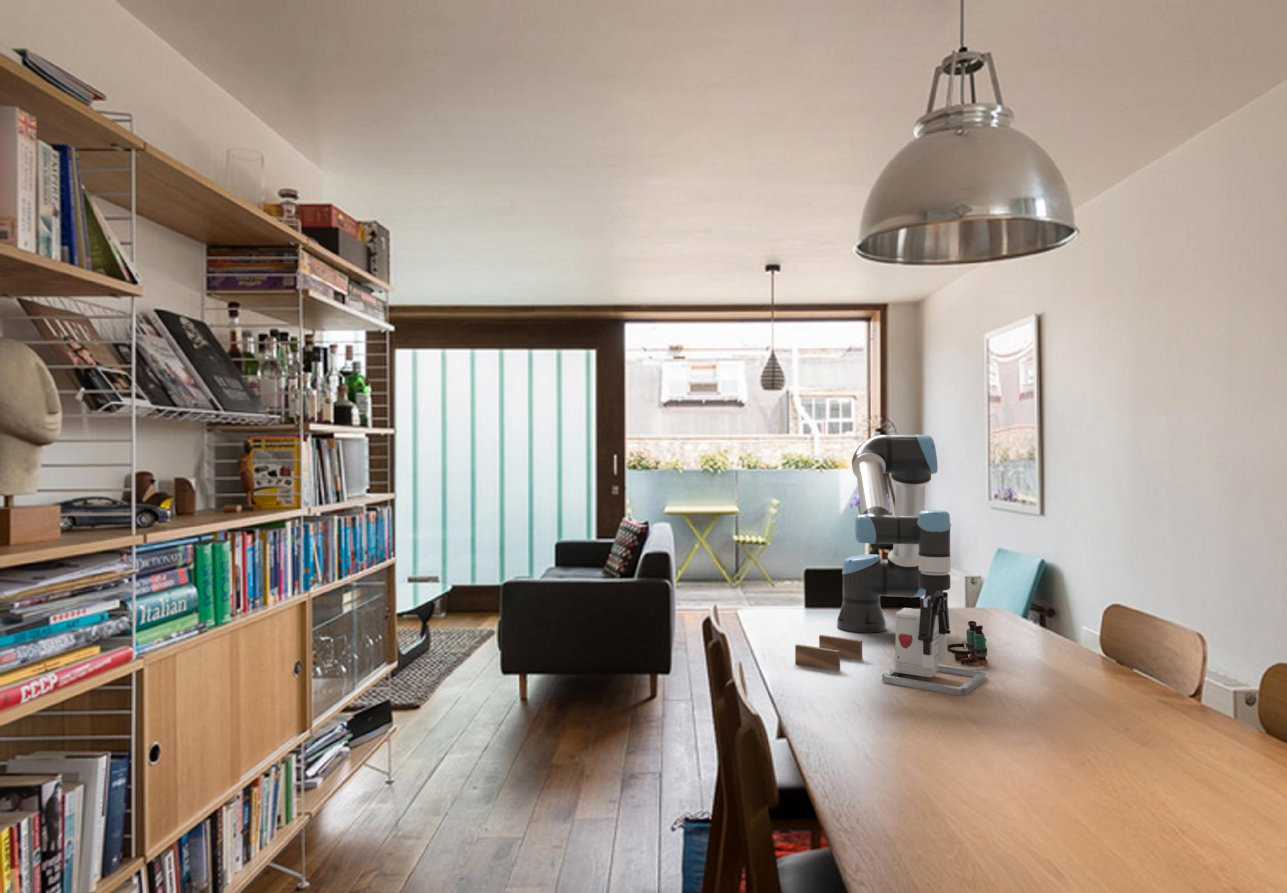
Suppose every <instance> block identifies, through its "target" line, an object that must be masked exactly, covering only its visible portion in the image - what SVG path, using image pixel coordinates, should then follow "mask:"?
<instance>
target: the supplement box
mask: <svg viewBox="0 0 1287 893" xmlns="http://www.w3.org/2000/svg"><path fill="white" fill-rule="evenodd" d="M920 610H921V608H910V607H903V608H901V609H900V610H898V611H896V613H895V641H894V642H895V647H894V648H895V649H894V650H895V653H894V654H895V655H894V663H895V664H894V667H895V672H897V673H902V674H906V675H911V676H918V677H926V678H932V677H934V675H935V674H936V673H937V672H938V671H937V670H938V664H939V660H938V654H939V621H938V615H937V616H936V620H935V627H934V633H933V640H932V641H934V669H931V668H925V667H922V641H920V640H918V636H919V624H920ZM925 635H926V634H925Z"/></svg>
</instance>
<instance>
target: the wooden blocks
mask: <svg viewBox="0 0 1287 893" xmlns="http://www.w3.org/2000/svg"><path fill="white" fill-rule="evenodd" d="M818 640H819V641H818V642H819V644H818V646H812V645H806V644H799V643H798V644H795V646H794V647H795V653H794V655H795V656H794V657H795V659H794V660H795V665H799V666H805V667H811V668H817V669H822V670H829V671H833V672H839V671H840V670H841V658H845V659H850V660H852V659H853V660H857V661H861V660H863V640H860V639H854V638H847V637H839V636H832V635H826V634H820V635H819V636H818Z"/></svg>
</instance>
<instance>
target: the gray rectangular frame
mask: <svg viewBox="0 0 1287 893" xmlns="http://www.w3.org/2000/svg"><path fill="white" fill-rule="evenodd" d="M936 672H938V673H939V672H940V673H947V674H952V675H957V676H958V675H959V676H966V677H971V678H970V679H968V680H966V681H965V683H963V684H962V685H960V686H953V685H947V684H941V683H935V682H930V681H923V680H919V679H918V680H917V679H911V678H906V677H899V676H900V675H902V674H903V673H897V672H895V666H894V667H893V668H891V669H889V670H887V671H886V672H884V673H882V674H881V681H882V683H883V684H884V683H885V684H891V685H894V686H902V687H906V686H907V687H908V688H913V689H917V690H924V691H931V692H936V693H943V694H946V695H947V694H949V695H952V694H953V695H954V696H958V695H960V696H959V697H961V696H963V695H965V696H967V695H969V693H971V692H972V691H973V690H974V689H976V688H977V687H979V685H981V684H982V683H984V682H985V681H986V680H987V672H986V671H985V670H979V669H973V668H972V669H971V668H966V667H959V666H953V665H945V664H940V663H938V670H937V671H936Z"/></svg>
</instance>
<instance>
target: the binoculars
mask: <svg viewBox="0 0 1287 893" xmlns="http://www.w3.org/2000/svg"><path fill="white" fill-rule="evenodd" d="M967 625H968V626H969V628H968V629H966V641H962V643H961V642H960V643H951V644H948V645H947V652H949V653H952V654H954V655H953V656H954V660H955V661H957V662H960V665H968V664H973V663H976V664H979V665H982V666H983V665H989V661H988V659H987V656H988V648H987V645H986V644H987V638H986V637H985V633H984V632H983V625H977V622H976V621H974V620H969V621H967ZM953 648H963V650H956V649H953ZM966 649H967V650H966Z"/></svg>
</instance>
